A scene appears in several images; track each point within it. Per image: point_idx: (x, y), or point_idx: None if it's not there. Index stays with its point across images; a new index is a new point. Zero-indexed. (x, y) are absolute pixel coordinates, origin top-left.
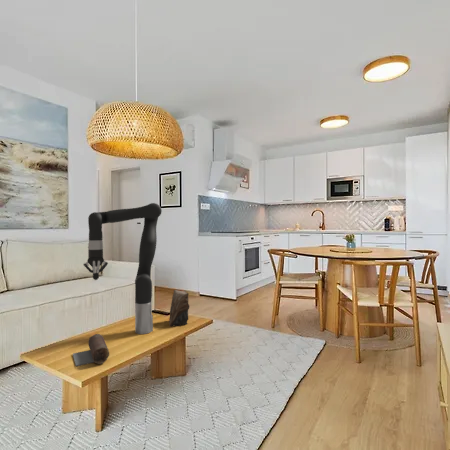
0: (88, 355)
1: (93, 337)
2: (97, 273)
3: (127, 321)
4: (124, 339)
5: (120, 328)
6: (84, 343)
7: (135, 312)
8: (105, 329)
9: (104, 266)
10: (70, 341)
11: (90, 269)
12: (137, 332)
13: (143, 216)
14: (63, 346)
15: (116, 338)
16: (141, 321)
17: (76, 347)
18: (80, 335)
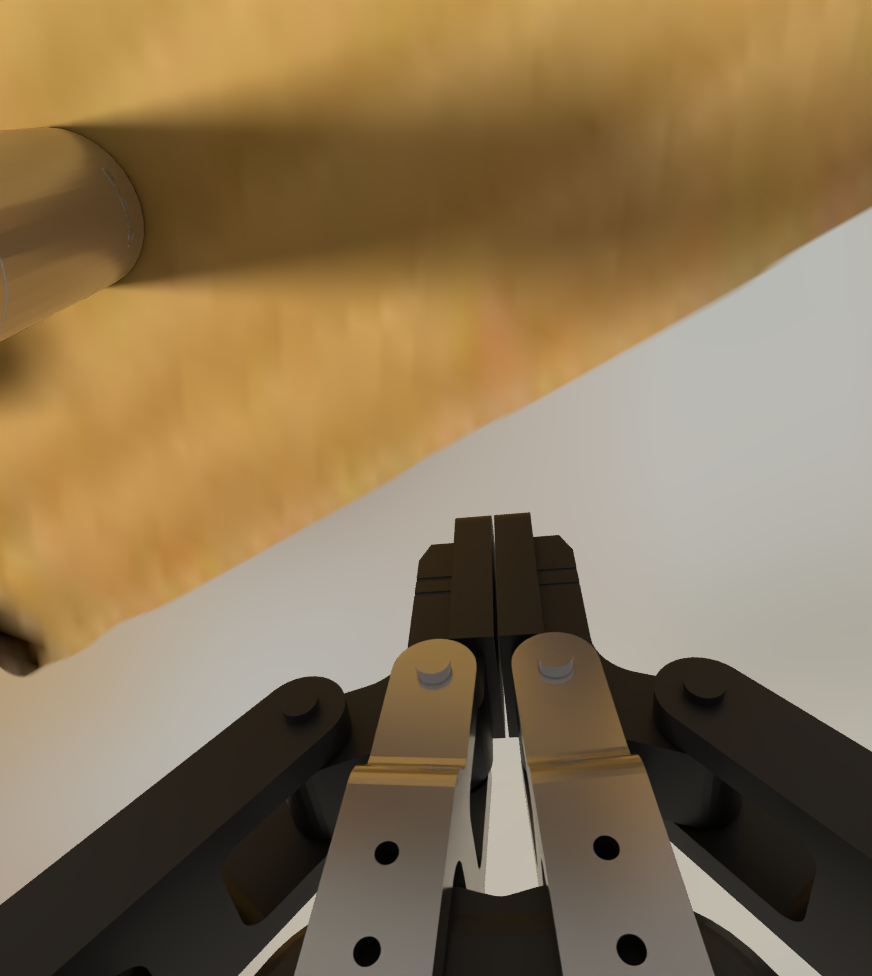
0: None
1: None
2: (450, 633)
3: (227, 526)
4: (236, 58)
5: (279, 385)
6: (596, 121)
7: (30, 240)
8: (401, 414)
9: (106, 868)
10: (700, 238)
11: (757, 761)
12: (114, 166)
13: None
14: (776, 126)
15: (311, 127)
16: (5, 142)
17: (677, 35)
18: (604, 355)
